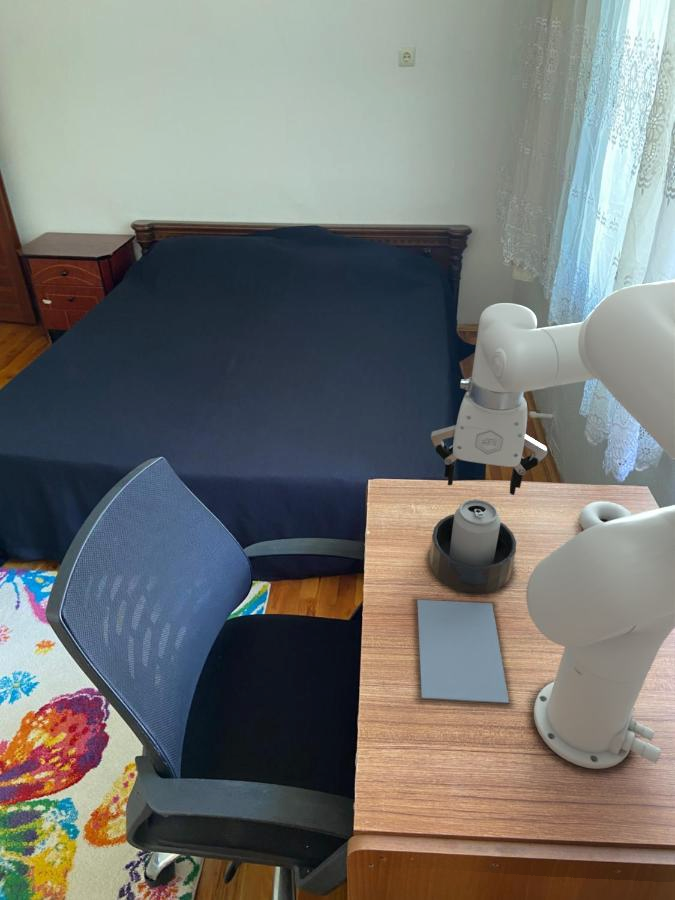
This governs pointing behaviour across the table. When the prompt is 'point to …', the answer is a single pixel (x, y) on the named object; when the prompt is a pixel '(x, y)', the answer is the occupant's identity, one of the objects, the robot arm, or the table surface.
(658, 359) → the robot arm
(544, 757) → the table surface
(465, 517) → the can
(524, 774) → the table surface
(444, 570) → the pot
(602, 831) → the table surface
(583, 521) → the donut
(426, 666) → the cloth
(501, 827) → the table surface
